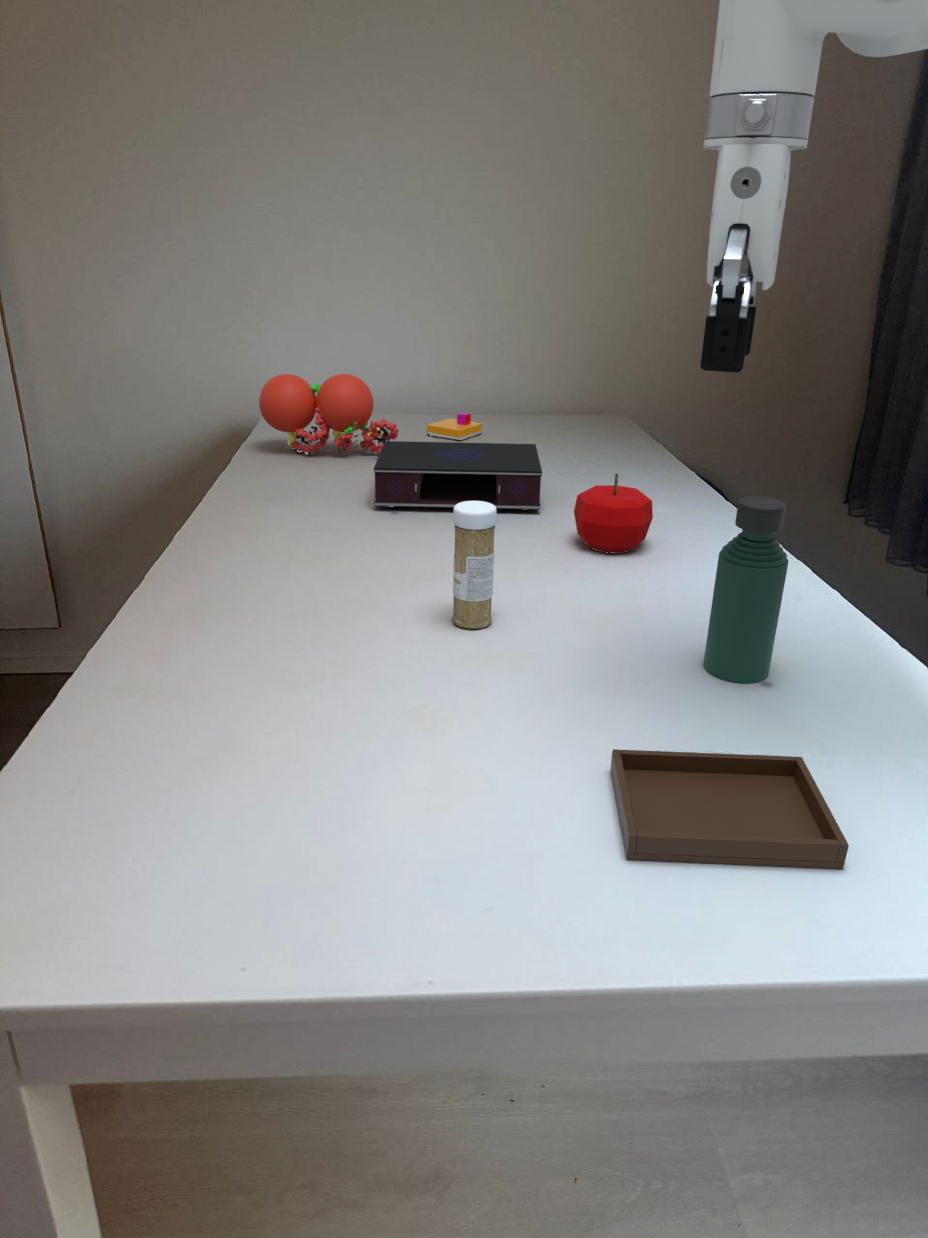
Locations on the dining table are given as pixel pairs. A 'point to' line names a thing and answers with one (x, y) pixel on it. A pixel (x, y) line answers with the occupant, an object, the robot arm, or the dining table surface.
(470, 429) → the orange slab with cube
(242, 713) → the dining table surface
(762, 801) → the tray
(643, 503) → the apple
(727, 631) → the flask
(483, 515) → the spice jar
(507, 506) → the low media console
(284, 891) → the dining table surface
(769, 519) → the flask cap
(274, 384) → the molecule
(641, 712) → the dining table surface
